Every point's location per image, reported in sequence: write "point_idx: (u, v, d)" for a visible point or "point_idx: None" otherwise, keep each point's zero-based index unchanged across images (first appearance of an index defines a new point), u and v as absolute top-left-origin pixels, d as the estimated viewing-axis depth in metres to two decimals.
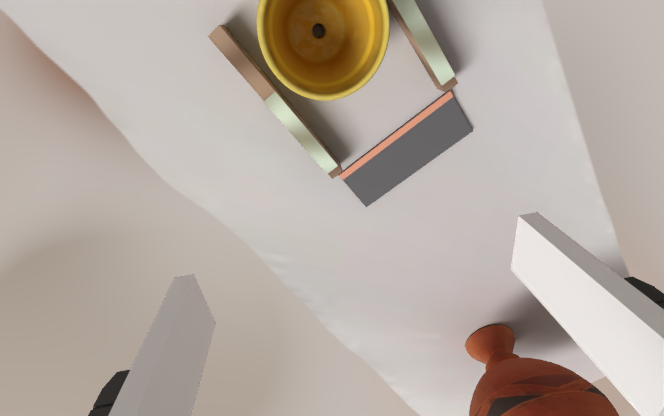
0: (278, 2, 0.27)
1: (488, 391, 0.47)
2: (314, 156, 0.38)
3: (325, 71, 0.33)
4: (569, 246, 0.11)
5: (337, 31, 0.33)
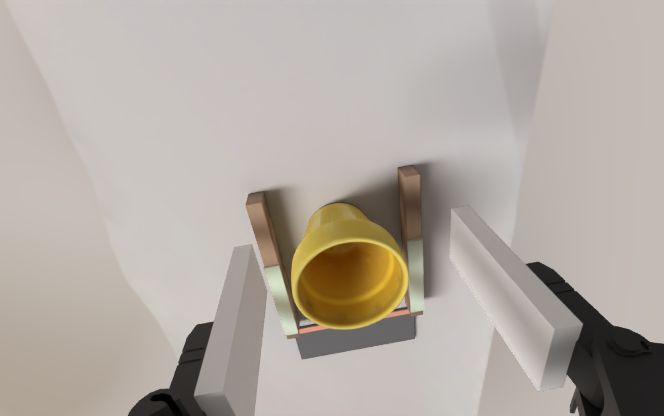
0: None
1: None
2: (282, 320, 0.39)
3: (329, 273, 0.35)
4: (486, 235, 0.12)
5: None
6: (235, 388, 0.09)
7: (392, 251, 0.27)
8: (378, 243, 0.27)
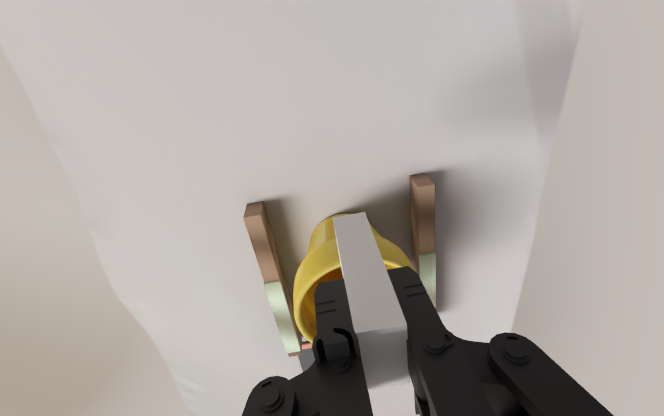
0: None
1: None
2: (283, 337, 0.36)
3: None
4: (366, 240, 0.13)
5: None
6: None
7: None
8: (390, 263, 0.24)
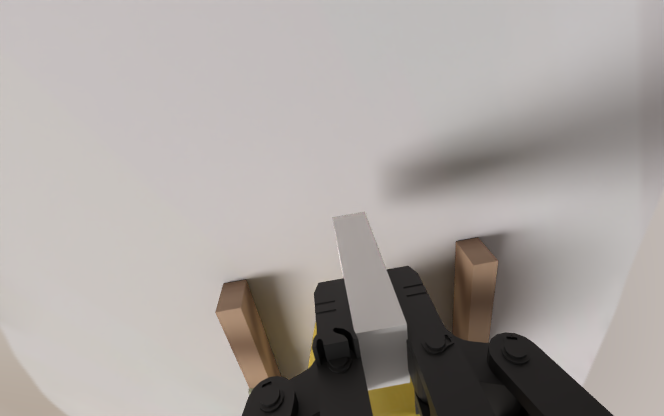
0: None
1: None
2: None
3: None
4: (366, 240, 0.13)
5: None
6: None
7: None
8: None
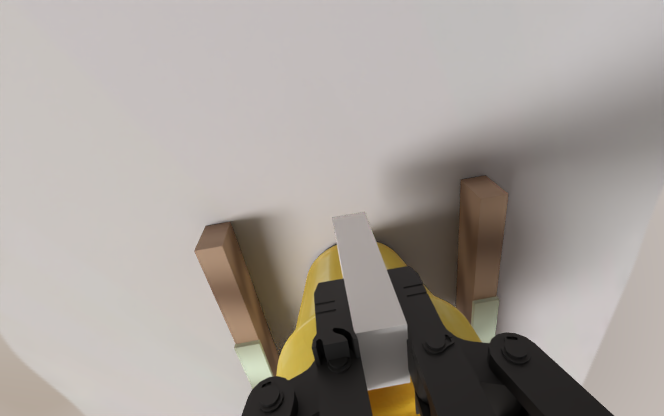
0: None
1: None
2: None
3: None
4: (366, 240, 0.13)
5: None
6: None
7: None
8: None
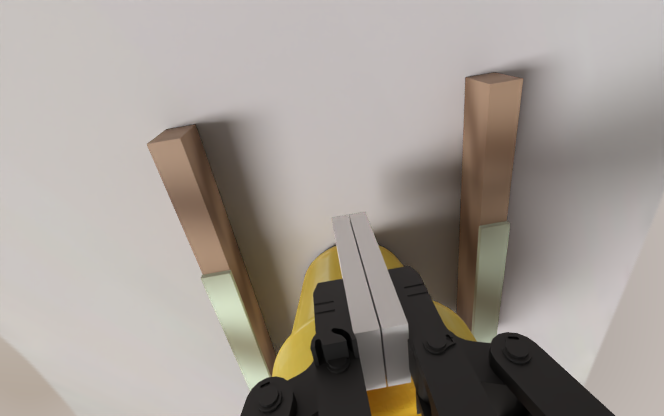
0: None
1: None
2: (245, 370, 0.22)
3: None
4: (367, 240, 0.13)
5: None
6: None
7: None
8: None
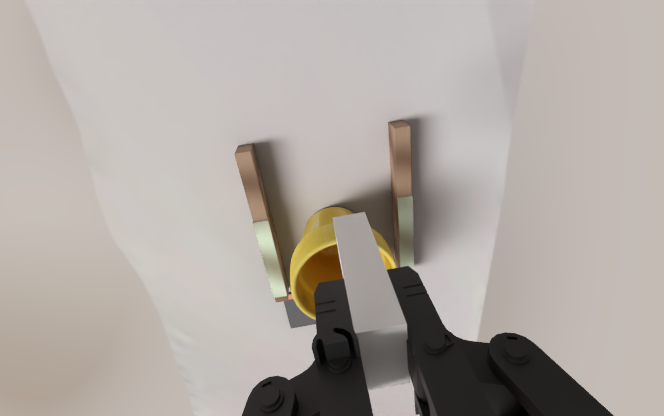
0: None
1: None
2: (271, 280, 0.39)
3: (324, 272, 0.38)
4: (366, 240, 0.13)
5: None
6: None
7: (384, 253, 0.30)
8: None
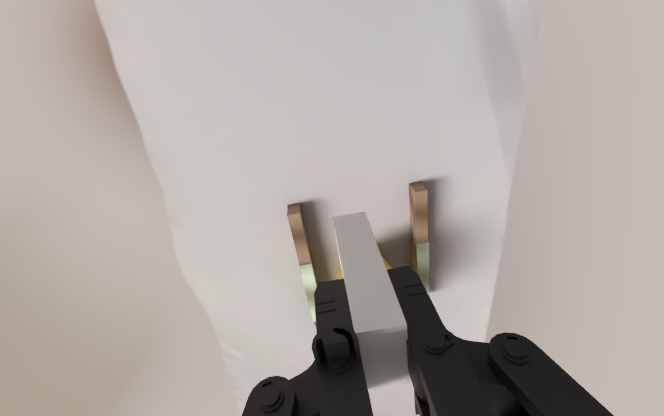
0: None
1: None
2: (312, 309, 0.47)
3: None
4: (366, 240, 0.13)
5: None
6: None
7: None
8: None
